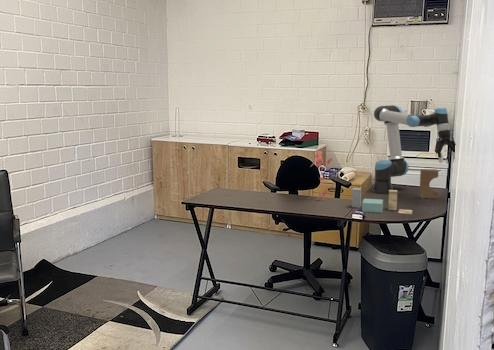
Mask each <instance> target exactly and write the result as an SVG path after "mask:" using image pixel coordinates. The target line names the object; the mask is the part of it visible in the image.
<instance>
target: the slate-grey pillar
mask: <svg viewBox="0 0 494 350" xmlns="http://www.w3.org/2000/svg"><path fill="white" fill-rule="evenodd" d="M351 191H352V192H351V193H352V194H351V197H352V199H351V207H352V208H359V209H360V208H361V207H362V188H361V187H360V188H359V187H353V188H352V190H351Z"/></svg>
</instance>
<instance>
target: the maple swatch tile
mask: <svg viewBox="0 0 494 350" xmlns="http://www.w3.org/2000/svg"><path fill="white" fill-rule="evenodd" d="M397 213H398V214H399V215H400V214H401V215H402V214H403V215H413V210H412V209H399V208H398V212H397Z"/></svg>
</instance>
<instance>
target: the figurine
mask: <svg viewBox="0 0 494 350" xmlns="http://www.w3.org/2000/svg"><path fill="white" fill-rule="evenodd" d="M322 154H323V152H322V150H321V151H320V149H319V150H317V151H316V154H314V157H315V161H313V163H312V164H311V165H310V167H312V166H314V165H315V166H316V167H317V166H318V167H317V168H318V169H319V168H320V174H322V171H323V170H324V169H325V168H327V169H330V168H331V164H332V161H333V158H332V157H330V158H329V159H327V162H326V164H327V165H329V166H326V165H325V164H324V160H323V155H322ZM322 165H323V167H322ZM319 180H320V186H323V185H322V181H324V182H325V186H328V185H327V180H325V178H324V177H323V176H320V177H319ZM325 195H327V197H328V198H329V199H330V198H331V197H330V195H329V193H328V189H325V191H324V192H322V189H320V192H319V194H318V196H317V198H316V200H319V199H320V197H321V198H322V199H323V201H325V198H324V197H325ZM312 197H313V196H310V198H312ZM306 199H307V200H308V199H309V197H307V198H306Z"/></svg>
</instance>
